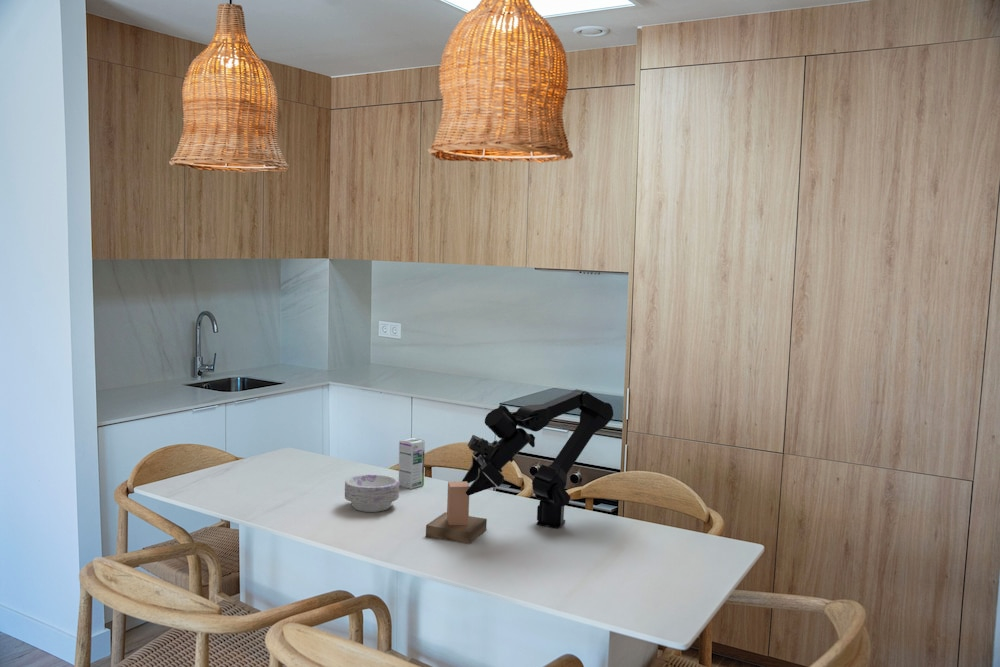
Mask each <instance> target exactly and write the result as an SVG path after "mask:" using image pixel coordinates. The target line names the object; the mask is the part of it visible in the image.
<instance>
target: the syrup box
mask: <svg viewBox="0 0 1000 667" xmlns="http://www.w3.org/2000/svg"><path fill="white" fill-rule="evenodd" d="M398 443H399V444H398V450H399V451H398V480H399V487H402V488H405V489H410V490H413V489H416V488H419V487H423V486H424V485H425V447H426V446H425V440H423V439H419V438H414V437H411V438H407V439H402V440H399V441H398Z"/></svg>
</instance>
